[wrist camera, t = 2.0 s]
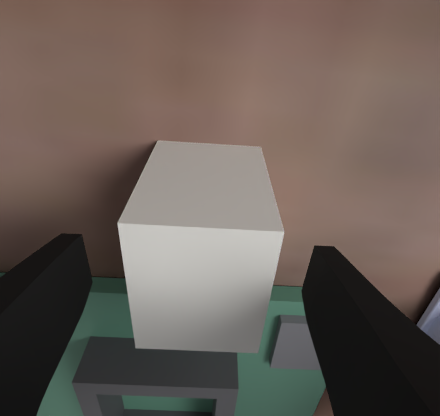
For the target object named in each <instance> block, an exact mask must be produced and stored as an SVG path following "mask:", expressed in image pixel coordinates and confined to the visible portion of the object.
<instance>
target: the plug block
mask: <svg viewBox="0 0 440 416" xmlns="http://www.w3.org/2000/svg"><path fill="white" fill-rule="evenodd" d="M117 224H118V231H119V238H120V245H121V251H122V258H123V265H124V272H125V279H126V286H127V293H128V300H129V306H130V313H131V320H132V327H133V334H134V341H135V348H142V349H166V350H190V351H214V352H238V353H258V352H259V347H260V342H261V338H262V333H263V328H264V324H265V319H266V315H267V310H268V305H269V301H270V296H271V291H272V287H273V282H274V278H275V273H276V268H277V264H278V259H279V254H280V250H281V245H282V241H283V236H284V229H283V225H282V222H281V218H280V214H279V211H278V207H277V203H276V200H275V196H274V193H273V189H272V185H271V182H270V178H269V175H268V171H267V167H266V164H265V160H264V156H263V153H262V149H261V147H256V146H240V145H223V144H206V143H190V142H173V141H157V143H156V145H155V147H154V149H153V151H152V153H151V155H150V157H149V159H148V161H147V163H146V165H145V167H144V170H143V172H142V174H141V176H140V178H139V180H138V182H137V184H136V186H135V188H134V190H133V192H132V194H131V196H130V198H129V200H128V202H127V204H126V206H125V209H124V211H123V213H122V215H121V217H120V219H119V221H118V223H117Z"/></svg>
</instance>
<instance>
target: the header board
mask: <svg viewBox="0 0 440 416" xmlns="http://www.w3.org/2000/svg"><path fill="white" fill-rule="evenodd" d="M4 274H5V273H0V277H1V276H3V275H4ZM92 281H93V283H92V286H91V289H90V293H89V296H88V299H87V302H86V305H85V308H84V311H83V313H82V316H81V318H80V320H79V322H78V324H77V326H76V329H75V331H74V333H73V335H72V337H71V339H70V341H69V343H68V346H67V348H66V350H65V352H64V354H63V356H62V358H61V360H60V362H59V364H58V367H57V369H56V371H55V373H54V375H53V377H52V379H51V381H50V383H49V386H48V388H47V390H46V393H45V395H44V397H43V400H42V402H41V405H40V407H39V410H38V413H37V416H313V414H314V412H315V409H316V407H317V405H318V403H319V401H320V399H321V396H322V394H323V392H324V390H325V388H326V384H325V381H324V378H323V375H322V371H321V368H320V365H319V362H318V358H317V355H316V352H315V348H314V345H313V342H312V338H311V335H310V332H309V328H308V325H307V321H306V316H305V311H304V305H303V299H302V292H301V290H302V287H291V286H273V287H272V291H271V296H270V301H269V305H268V310H267V315H266V319H265V324H264V328H263V333H262V338H261V342H260V347H259V352H258V353H238V352H214V351H190V350H166V349H142V348H135V341H134V334H133V327H132V320H131V313H130V306H129V300H128V293H127V286H126V279H125V278H104V277H92Z"/></svg>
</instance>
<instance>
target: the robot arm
mask: <svg viewBox="0 0 440 416" xmlns="http://www.w3.org/2000/svg"><path fill="white" fill-rule="evenodd" d="M92 283H93V281H92V277H91V272H90V268H89V264H88V259H87V255H86V250H85V246H84V242H83V237H82V234H63V233H62V234H60V235H59V236H57V237H56V238H54V239H53V240H51V241H50V242H48V243H47V244H46V245H44V246H43V247H42V248H40V249H39V250H37V251H36V252H35V253H33V254H32V255H31V256H29V257H28V258H26V259H25V260H24V261H22V262H21V263H19V264H18V265H17V266H15V267H14V268H12V269H11V270H10V271H8V272H7V273H5V274H4V275H3V276H1V277H0V416H37V413H38V410H39V407H40V405H41V402H42V400H43V397H44V395H45V393H46V390H47V388H48V386H49V383H50V381H51V379H52V377H53V375H54V373H55V371H56V369H57V367H58V364H59V362H60V360H61V358H62V356H63V354H64V352H65V350H66V348H67V346H68V343H69V341H70V339H71V337H72V335H73V333H74V331H75V329H76V326H77V324H78V322H79V320H80V318H81V316H82V313H83V311H84V308H85V305H86V302H87V299H88V296H89V293H90V289H91V286H92ZM301 292H302V299H303V305H304V311H305V316H306V321H307V325H308V328H309V332H310V335H311V338H312V342H313V345H314V348H315V352H316V355H317V358H318V362H319V365H320V368H321V371H322V375H323V378H324V381H325V384H326V388H327V391H328V394H329V398H330V402H331V406H332V410H333V414H334V416H440V288H439V290H438V291H437V293H436V295H435V296H434V298H433V299H432V301H431V303H430V304H429V306H428V307H427V309H426V311H425V312H424V314H423V315H422V317H421V318H420V320H419V322H418V323H417V325H415V324H414V323H413V322H412V321H411V320H410V319H409V318H407V317H406V316H405V315H404V314H403V313H402V312H401V311H400V310H398V309H397V308H396V307H395V306H394V305H393V304H392V303H391V302H390V301H389V300H388V299H387V298H386V297H384V296H383V295H382V294H381V293H380V292H379V291H378V290H377V289H376V288H375V287H374V286H373V285H372V284H371V283H370V282H369V281H368V280H367V279H366V278H365V277H364V276H363V275H362V274H361V273H360V272H359V271H358V270H357V269H356V268H355V267H354V266H353V265H352V264H351V263H350V262H349V261H348V260H347V259H346V258H345V257H344V256H343V255H342V254H341V253H340V252H339V251H338V250H337V249H336V248H335V247H334V246H314V249H313V253H312V256H311V259H310V263H309V266H308V270H307V273H306V277H305V280H304V284H303V287H302V290H301Z"/></svg>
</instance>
